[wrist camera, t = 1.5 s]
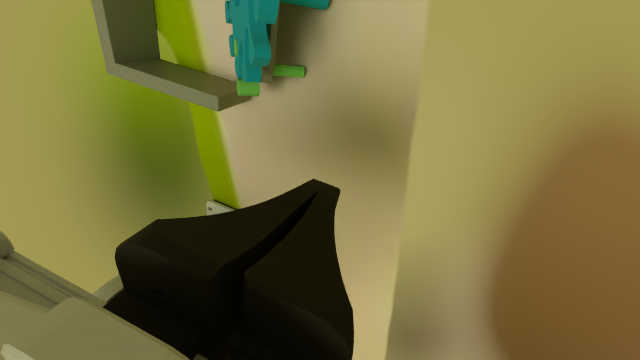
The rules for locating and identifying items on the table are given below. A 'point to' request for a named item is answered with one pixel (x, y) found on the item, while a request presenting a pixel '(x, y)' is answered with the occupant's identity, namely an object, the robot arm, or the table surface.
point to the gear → (259, 41)
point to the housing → (154, 56)
